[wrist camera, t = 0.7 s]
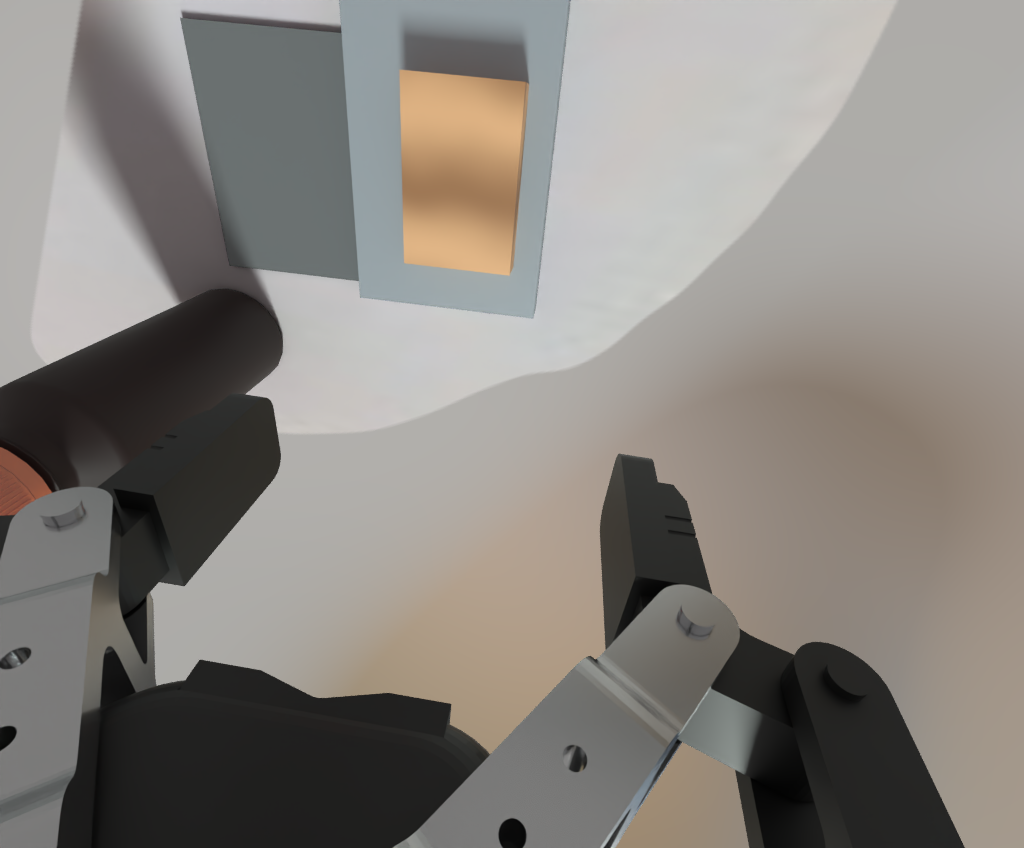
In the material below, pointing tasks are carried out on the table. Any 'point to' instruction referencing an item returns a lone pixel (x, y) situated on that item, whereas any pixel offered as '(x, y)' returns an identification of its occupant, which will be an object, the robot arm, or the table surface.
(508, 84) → the tile
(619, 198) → the table surface
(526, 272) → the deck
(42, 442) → the bottle
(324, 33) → the mat
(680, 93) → the table surface
